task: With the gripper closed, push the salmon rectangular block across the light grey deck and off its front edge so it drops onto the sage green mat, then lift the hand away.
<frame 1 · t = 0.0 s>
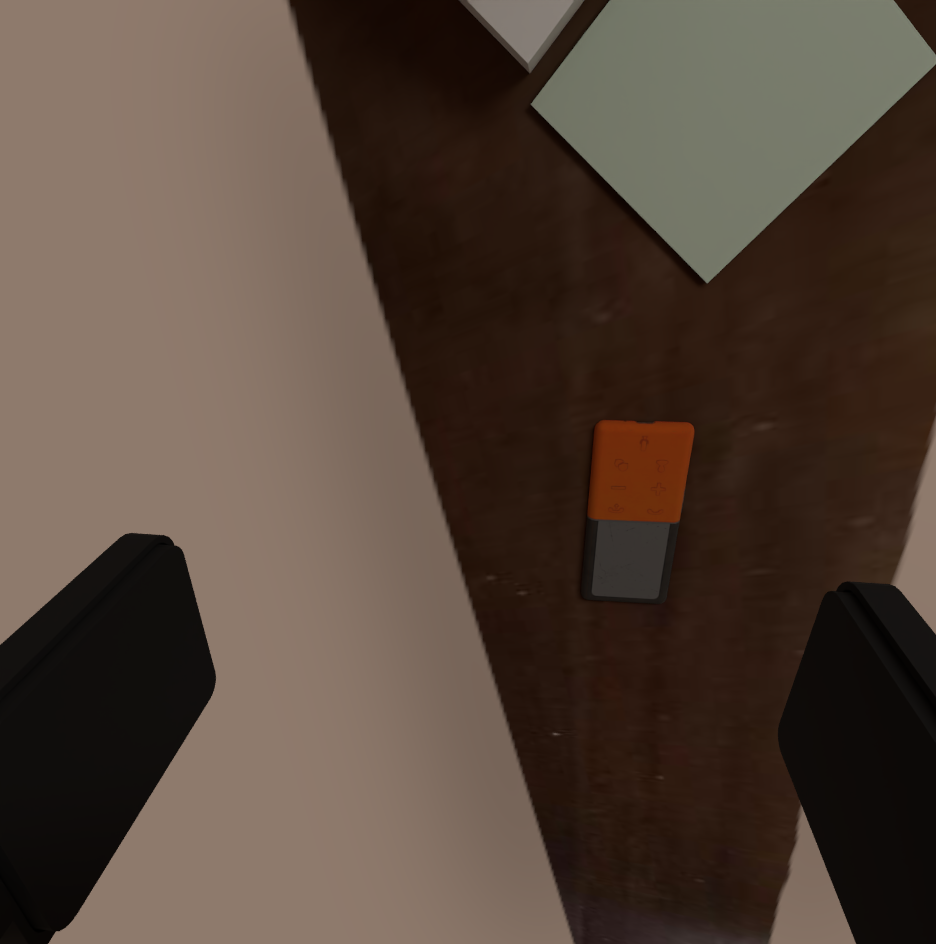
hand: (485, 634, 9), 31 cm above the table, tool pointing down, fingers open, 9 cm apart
mat: (723, 84, 31), on the table
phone: (631, 511, 44), on the table
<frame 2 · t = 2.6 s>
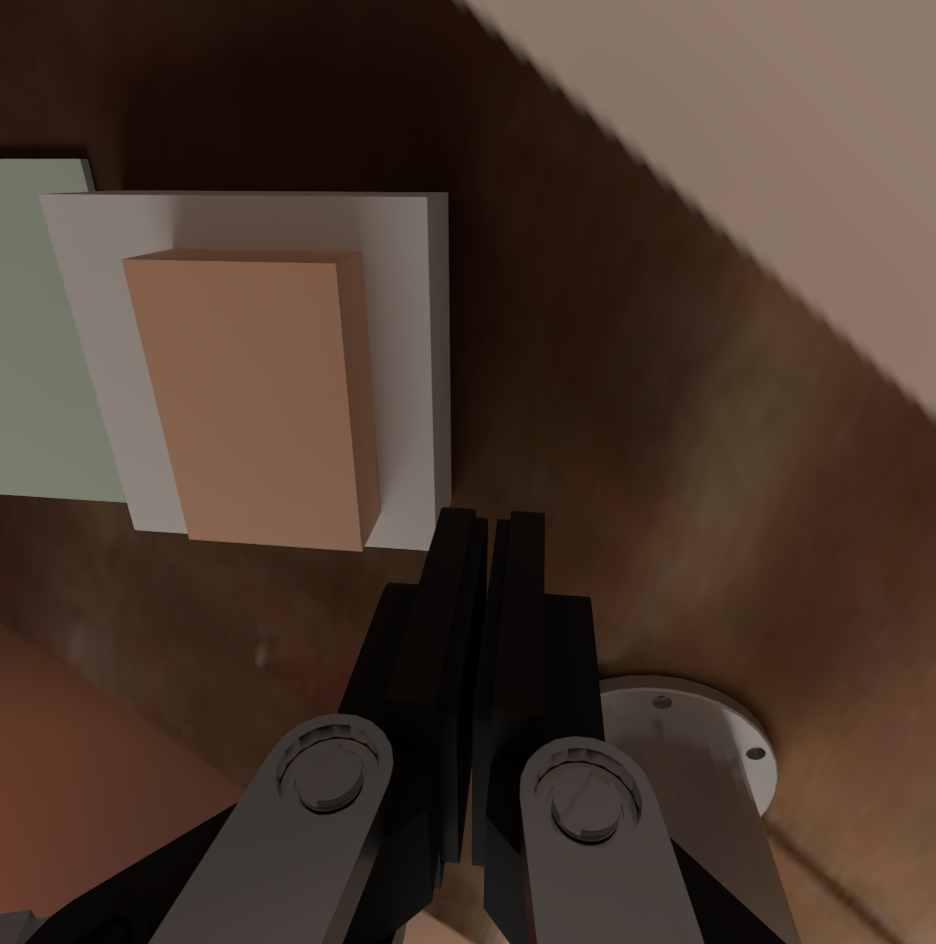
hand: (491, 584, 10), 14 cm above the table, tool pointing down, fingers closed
salmon rectangular block: (285, 391, 20), point 4 cm above the table, touching deck
deck: (300, 357, 24), on the table
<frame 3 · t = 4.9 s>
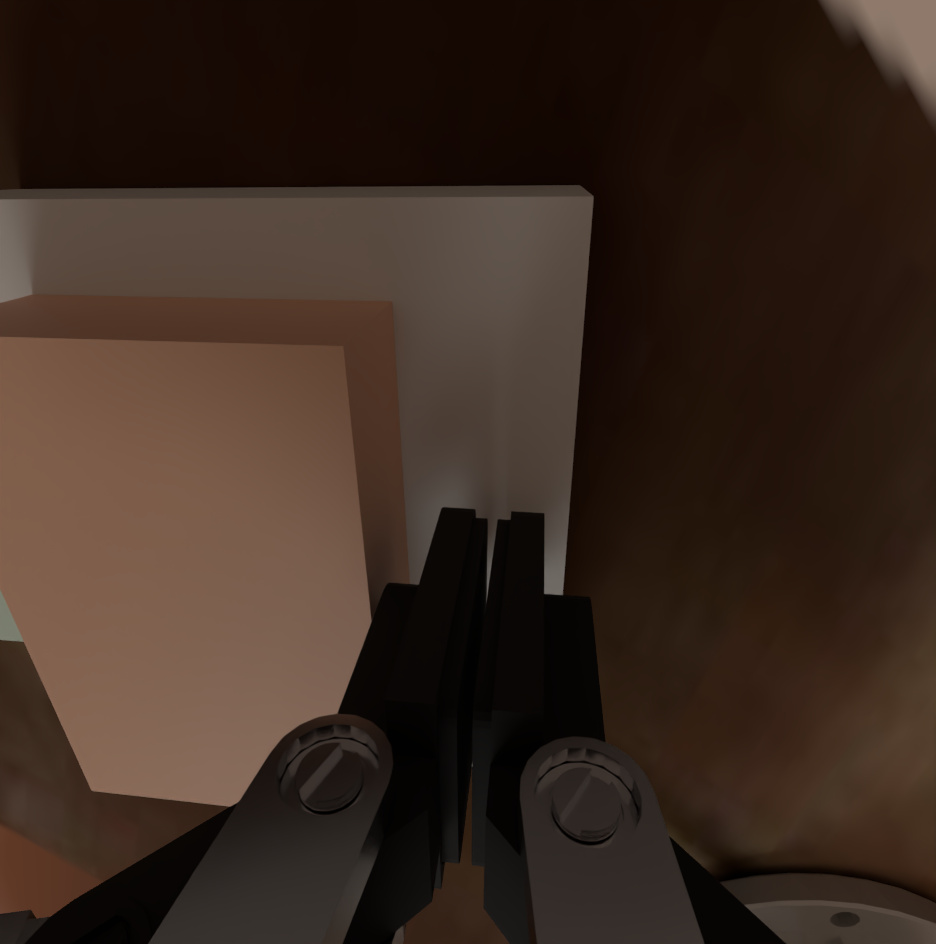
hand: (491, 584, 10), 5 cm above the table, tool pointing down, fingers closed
salmon rectangular block: (254, 536, 12), point 4 cm above the table, touching gripper
deck: (320, 450, 15), on the table
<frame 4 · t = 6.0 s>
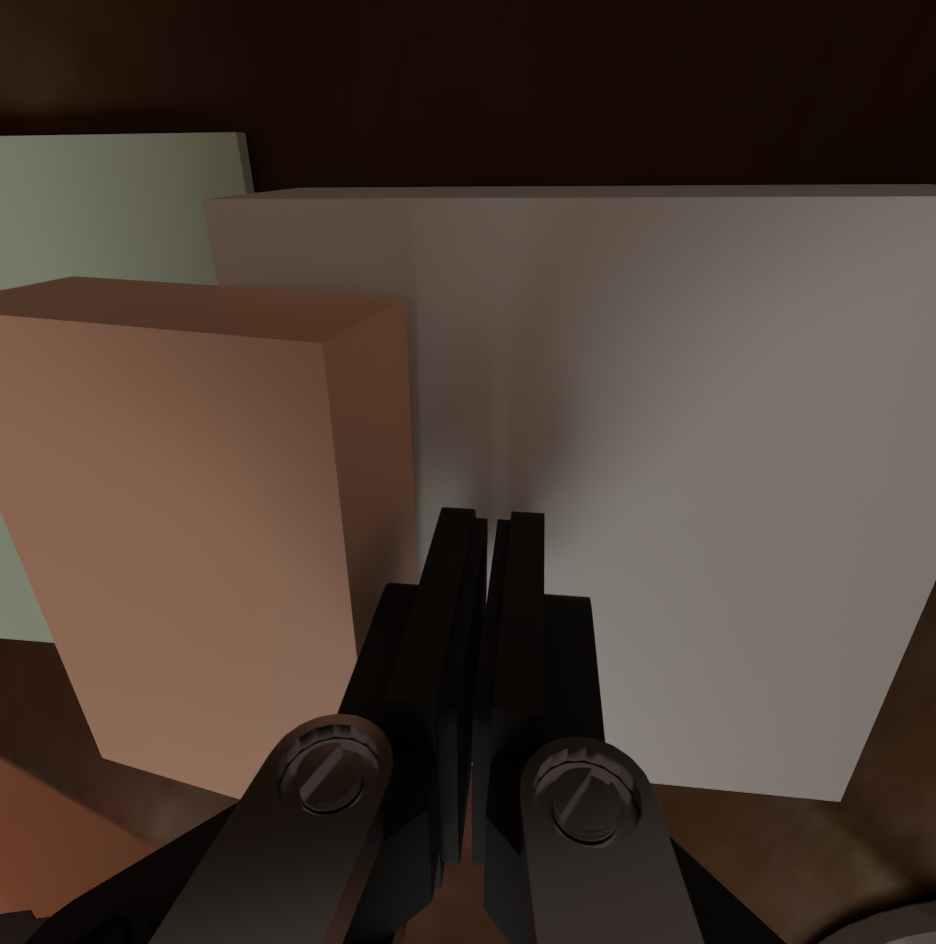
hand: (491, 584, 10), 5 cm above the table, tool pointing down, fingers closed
salmon rectangular block: (268, 528, 12), point 4 cm above the table, tilted 9°, touching gripper
mat: (42, 438, 16), on the table
deck: (573, 461, 15), on the table
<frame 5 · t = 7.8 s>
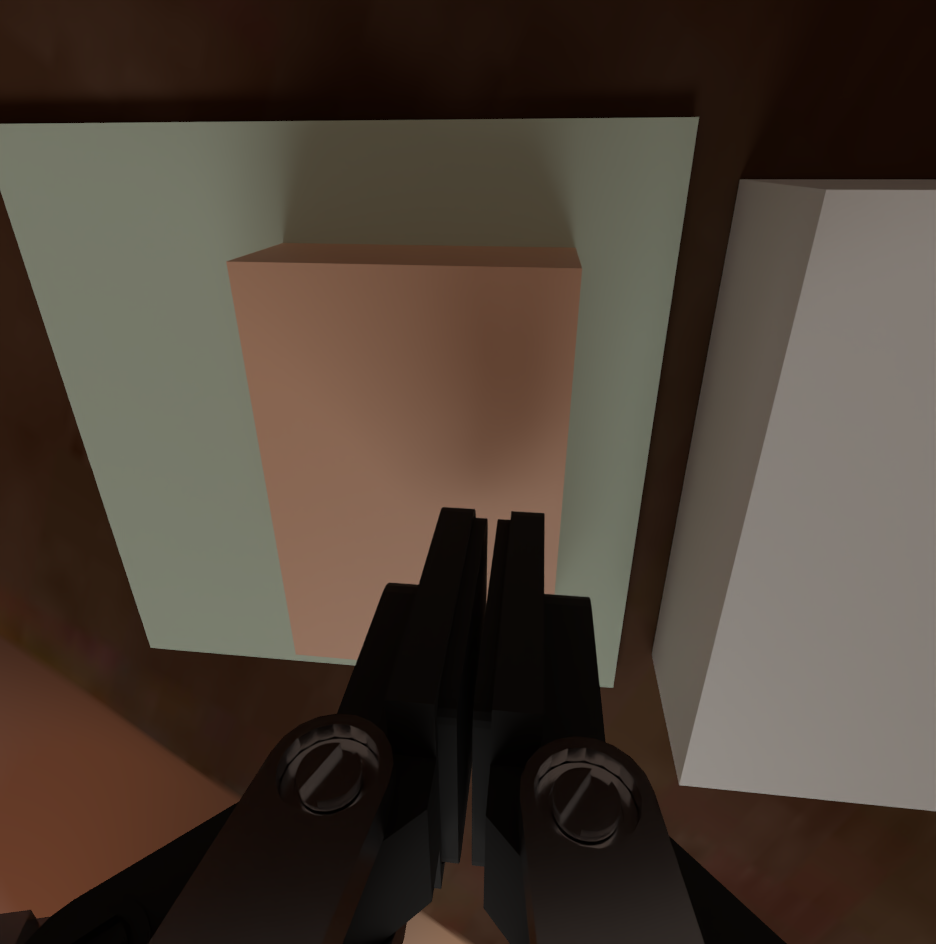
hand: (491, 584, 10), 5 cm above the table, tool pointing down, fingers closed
salmon rectangular block: (410, 499, 12), point 3 cm above the table, tilted 180°, touching mat
mat: (355, 447, 15), on the table
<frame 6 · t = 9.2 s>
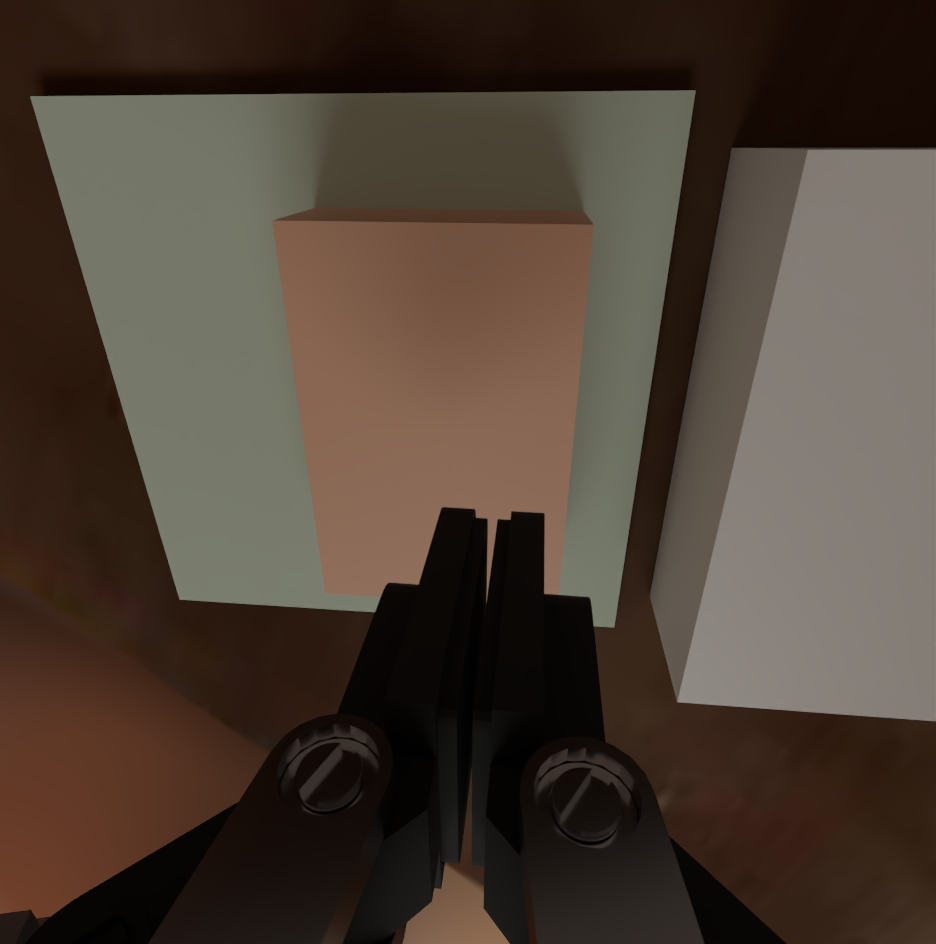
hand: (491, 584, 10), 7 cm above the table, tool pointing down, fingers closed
salmon rectangular block: (435, 442, 13), point 3 cm above the table, tilted 180°, touching mat
mat: (376, 402, 16), on the table
deck: (930, 421, 15), on the table
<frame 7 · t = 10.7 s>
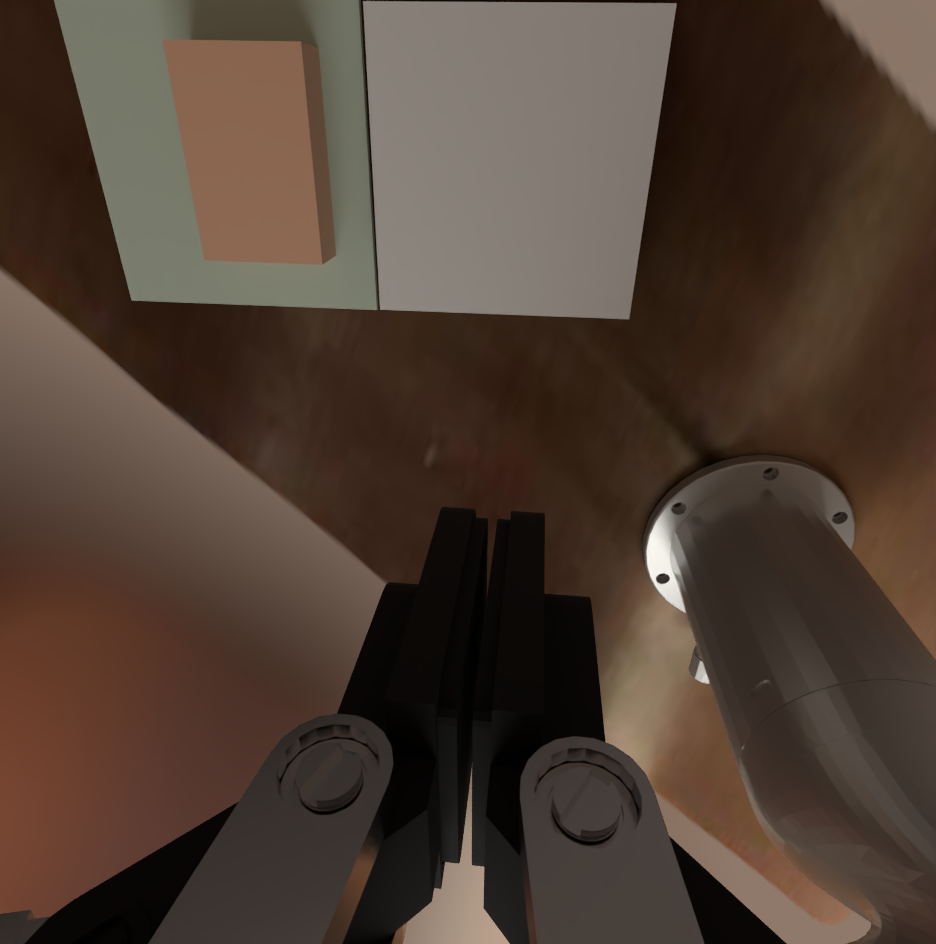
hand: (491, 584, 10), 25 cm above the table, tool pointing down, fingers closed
salmon rectangular block: (248, 160, 28), point 3 cm above the table, tilted 180°, touching mat
mat: (233, 163, 30), on the table
deck: (511, 170, 30), on the table
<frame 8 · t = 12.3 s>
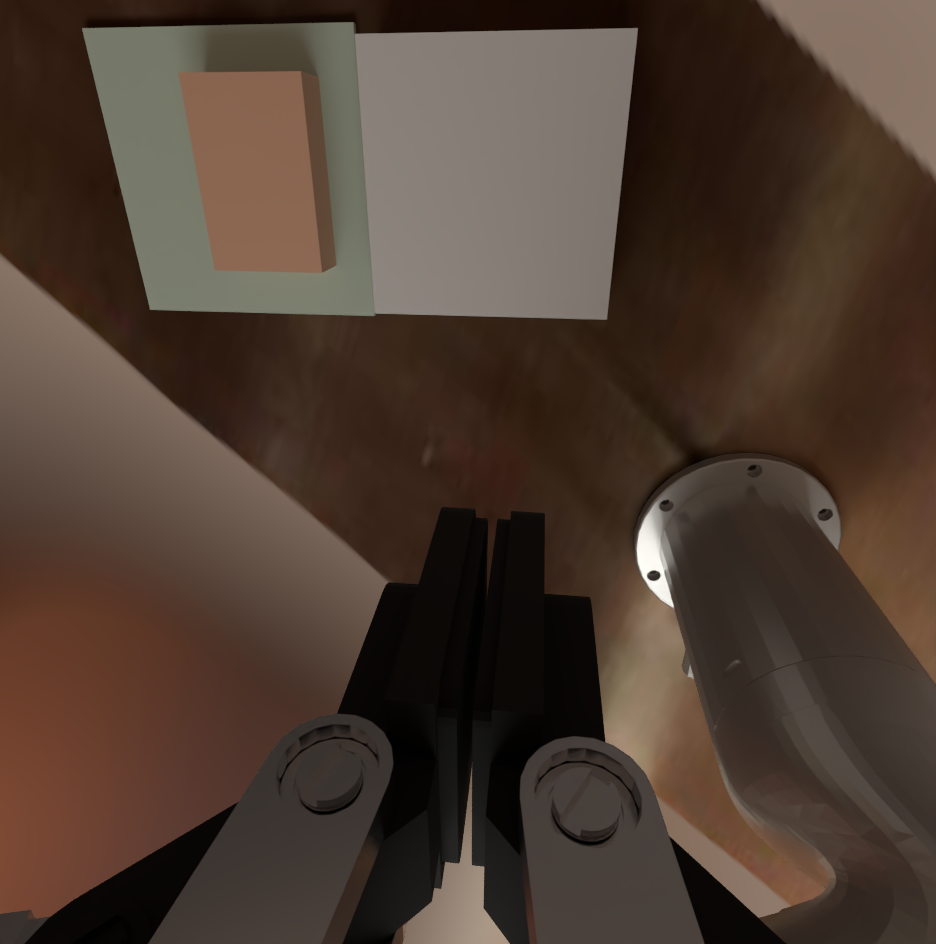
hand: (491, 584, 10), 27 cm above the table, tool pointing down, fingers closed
salmon rectangular block: (254, 178, 30), point 3 cm above the table, tilted 180°, touching mat
mat: (242, 182, 33), on the table
deck: (496, 184, 32), on the table
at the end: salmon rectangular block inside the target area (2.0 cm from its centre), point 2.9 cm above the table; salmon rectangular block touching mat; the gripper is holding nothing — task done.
